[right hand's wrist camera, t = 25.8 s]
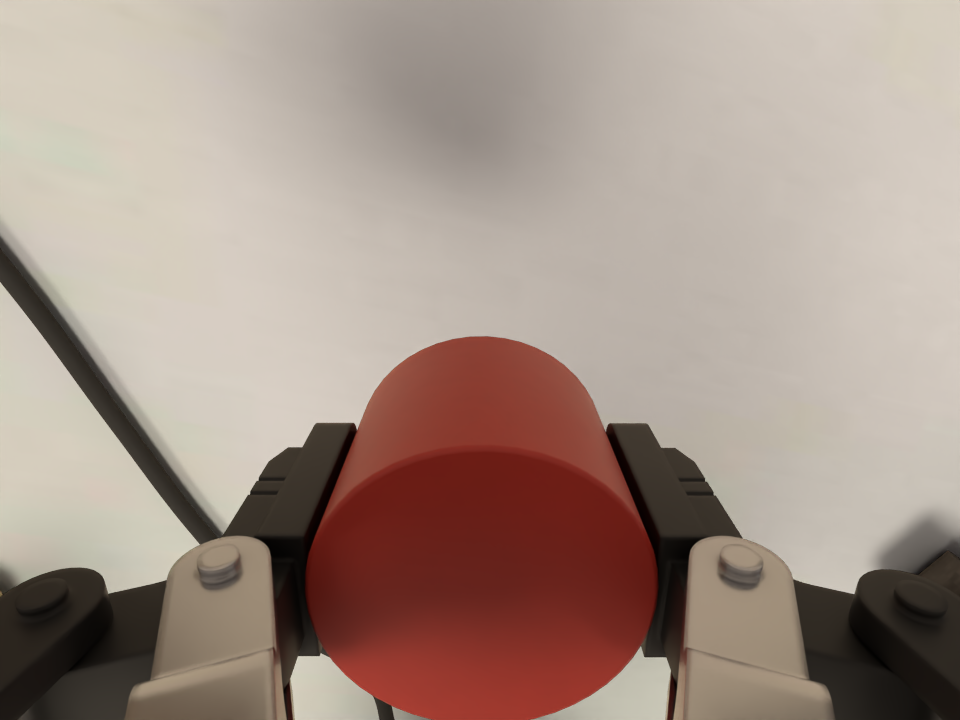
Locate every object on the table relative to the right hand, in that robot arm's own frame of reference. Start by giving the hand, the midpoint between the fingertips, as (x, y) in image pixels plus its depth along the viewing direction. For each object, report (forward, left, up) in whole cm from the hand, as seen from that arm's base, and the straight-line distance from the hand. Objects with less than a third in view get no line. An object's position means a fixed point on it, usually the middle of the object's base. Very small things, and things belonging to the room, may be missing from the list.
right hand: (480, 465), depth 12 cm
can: (0, 0, 0) cm, 0 cm away
